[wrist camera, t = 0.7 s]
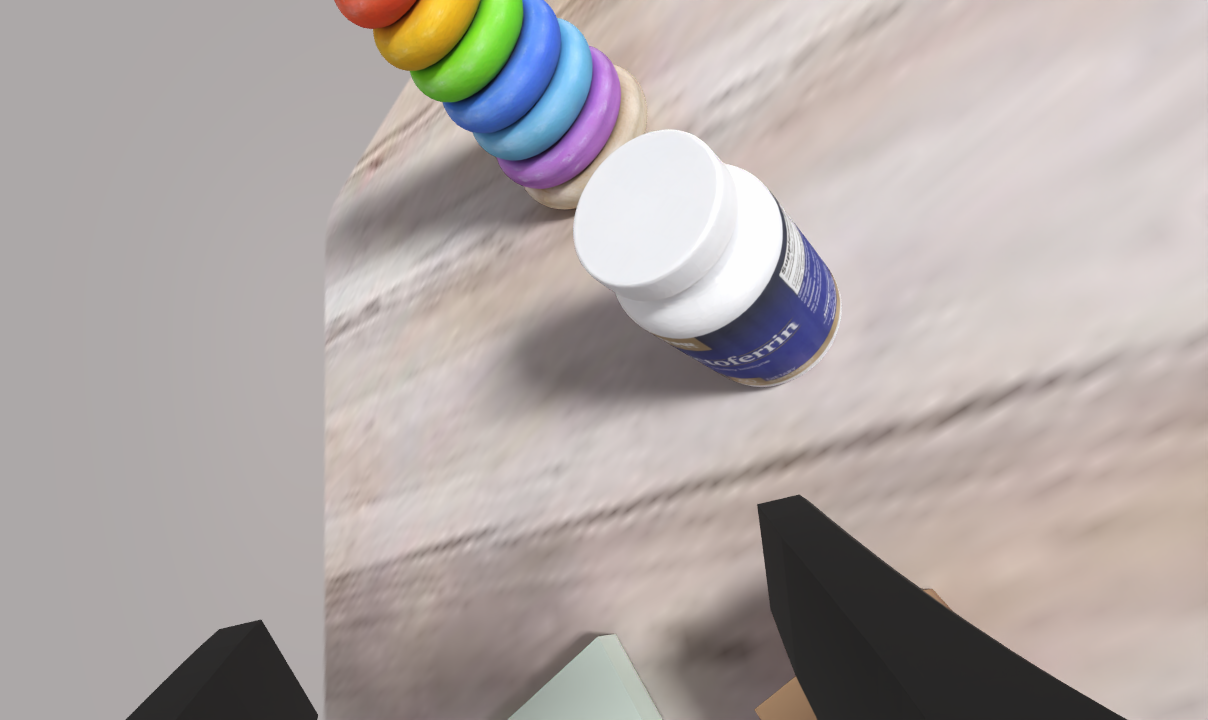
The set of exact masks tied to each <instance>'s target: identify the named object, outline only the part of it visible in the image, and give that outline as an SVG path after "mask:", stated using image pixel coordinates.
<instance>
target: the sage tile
mask: <svg viewBox="0 0 1208 720" xmlns="http://www.w3.org/2000/svg"><path fill="white" fill-rule="evenodd" d="M507 720H663V719H662V718H661V716H660V714H659V712H658V710H657V709H656V707H655V705H654V703H653V701H652V700H651V698H650V696H649V694H648V692H647V690H646V689H645V687H644V685H643V683H642V681H641V680H640V678H639V676H638V674H637V672H636V670H635V669H634V667H633V665H632V663H631V661H630V660H629V658H628V656H627V654H626V652H625V651H624V649H623V647H622V645H621V643H620V641H619V640H618V638H617V636H616V634H612V635H604V636H598V637H597V638H596V639H595V640H593V641H592V642H591V643H590V644H589V645H588V646H587V647H586V648H585V649H584V650H583V651H581V652H580V653H579V654H578V655H577V656H576V657H575V658H574V659H573V660H572V661H571V662H570V663H568V664H567V665H566V666H565V667H564V668H563V669H562V670H561V671H560V672H559V673H558V674H556V675H555V676H554V677H553V678H552V679H551V680H550V681H549V682H548V683H547V684H546V685H544V686H543V687H542V688H541V689H540V690H539V691H538V692H537V693H536V694H535V695H534V696H533V697H531V698H530V699H529V700H528V701H527V702H526V703H525V704H524V705H523V706H522V707H521V708H519V709H518V710H517V711H516V712H515V713H514V714H513V715H512V716H511V717H510V718H509V719H507Z"/></svg>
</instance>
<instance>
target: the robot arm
mask: <svg viewBox="0 0 1208 720" xmlns="http://www.w3.org/2000/svg"><path fill="white" fill-rule="evenodd" d="M757 506H758V514H759V522H760V530H761V537H762V545H763V553H764V561H765V569H766V576H767V584H768V592H769V600H770V608H771V611H772V614H773V617H774V619H775V622H776V625H777V628H778V630H779V633H780V636H781V638H782V641H783V644H784V646H785V649H786V651H787V654H788V657H789V659H790V662H791V664H792V667H793V670H794V672H795V675H796V677H797V680H798V682H799V684H800V686H801V688H802V690H803V692H804V694H805V696H806V698H807V700H808V702H809V704H810V706H811V708H812V710H813V712H814V714H815V716H816V718H817V720H1127V719H1125V718H1123V717H1122V716H1120V715H1118V714H1116V713H1114V712H1113V711H1111V710H1109V709H1107V708H1106V707H1104V706H1102V705H1101V704H1099V703H1097V702H1095V701H1094V700H1092V699H1090V698H1089V697H1087V696H1085V695H1083V694H1082V693H1080V692H1078V691H1077V690H1075V689H1073V688H1071V687H1070V686H1068V685H1066V684H1065V683H1063V682H1061V681H1060V680H1058V679H1056V678H1055V677H1053V676H1051V675H1050V674H1048V673H1046V672H1045V671H1043V670H1042V669H1040V668H1038V667H1037V666H1035V665H1033V664H1032V663H1030V662H1029V661H1027V660H1026V659H1024V658H1022V657H1021V656H1019V655H1018V654H1016V653H1014V652H1013V651H1011V650H1010V649H1008V648H1007V647H1005V646H1004V645H1002V644H1001V643H999V642H998V641H996V640H995V639H993V638H992V637H990V636H989V635H987V634H985V633H984V632H982V631H981V630H979V629H978V628H976V627H975V626H973V625H972V624H970V623H969V622H967V621H966V620H964V619H963V618H962V617H960V616H959V615H957V614H956V613H954V612H953V611H951V610H950V609H949V608H947V607H946V606H944V605H943V604H941V603H940V602H938V601H937V600H936V599H934V598H933V597H932V596H930V595H929V594H927V593H926V592H925V591H923V590H922V589H921V588H919V587H918V586H917V585H915V584H914V583H912V582H911V581H910V580H908V579H907V578H906V577H904V576H903V575H901V574H900V573H899V572H897V571H896V570H895V569H893V568H892V567H891V566H889V565H888V564H887V563H885V562H884V561H883V560H881V559H880V558H879V557H877V556H876V555H875V554H874V553H872V552H871V551H870V550H868V549H867V548H866V547H865V546H863V545H862V544H861V543H860V542H858V541H857V540H856V539H855V538H853V537H852V536H851V535H849V534H848V533H847V532H846V531H845V530H843V529H842V528H841V527H840V526H838V525H837V524H836V523H835V522H833V521H832V520H831V519H830V518H829V517H827V516H826V515H825V514H824V513H823V512H821V511H820V510H819V509H818V508H816V507H815V506H814V505H813V504H812V503H810V502H809V501H808V500H807V499H805V498H804V497H802V496H800V495H796V496H791V497H787V498H783V499H779V500H774V501H770V502H766V503H761V504H757ZM317 718H318V714H317V712H316V711H315V709H314V707H313V706H312V704H311V702H310V701H309V699H308V697H307V695H306V694H305V692H304V690H303V689H302V687H301V686H300V684H299V682H298V680H297V679H296V677H295V676H294V674H293V672H292V670H291V669H290V667H289V665H288V664H287V662H286V660H285V659H284V657H283V655H282V654H281V652H280V651H279V649H278V647H277V645H276V644H275V642H274V640H273V638H272V637H271V635H270V633H269V632H268V630H267V628H266V627H265V625H264V624H263V622H262V620H258V621H253V622H249V623H244V624H240V625H236V626H231V627H227V628H223V629H219V630H218V631H217V632H216V633H215V634H214V635H212V636H211V637H210V638H209V639H208V640H207V641H206V642H205V643H203V644H202V645H201V646H200V647H199V648H198V649H197V650H196V651H195V652H194V653H193V654H192V655H191V656H190V657H189V658H187V659H186V660H185V661H184V662H183V663H182V664H181V665H180V666H179V667H178V668H177V669H176V670H175V671H174V672H173V673H172V674H171V675H170V676H169V677H168V678H167V679H166V680H165V681H164V682H163V683H162V684H161V685H160V686H159V687H158V688H157V689H156V690H155V691H154V692H153V693H152V694H151V695H150V696H149V697H148V698H147V699H146V700H145V701H144V702H143V703H142V704H141V705H140V706H139V707H138V708H137V709H136V710H135V711H134V712H133V713H132V714H131V715H130V716H129V717H128V718H127V719H126V720H317Z"/></svg>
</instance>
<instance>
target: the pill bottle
mask: <svg viewBox="0 0 1208 720" xmlns="http://www.w3.org/2000/svg"><path fill="white" fill-rule="evenodd" d="M573 238H574V245H575V249H576V253H577V256H578V258H579V260H580V262H581V264H582V265H583V267H584V268H585V269H586V271H587V272H588V273H589V274H590V275H591V276H592V277H593V278H595V279H596V280H597V281H599V282H600V283H602V284H603V285H604V286H606V287H607V288H609V289H610V290H612V291H614V292H615V294H616V297H617V299H618V301H619V303H620V304H621V306H622V308H623V309H624V311H625V312H626V313H627V314H628V316H629V317H630V318H631V319H632V320H633V321H634V322H636V323H637V324H638V325H640V326H641V327H642V328H644V329H645V330H646V331H648V332H650V333H651V334H653V335H655V336H656V337H658V338H660V339H662V340H663V341H665V342H667V343H668V344H670V345H672V346H673V347H675V348H677V349H679V350H680V351H682V352H684V353H685V354H687V355H689V356H690V357H692V358H694V359H696V360H697V361H699V362H701V363H702V364H704V365H706V366H707V367H709V368H711V369H713V370H714V371H716V372H718V373H720V374H721V375H723V376H725V377H727V378H729V379H731V380H733V381H735V382H738V383H741V384H744V385H749V386H755V387H769V386H776V385H780V384H783V383H786V382H789V381H791V380H794V379H796V378H798V377H800V376H801V375H803V374H805V373H806V372H808V371H809V370H810V369H812V368H813V367H814V366H815V365H816V364H817V363H818V362H819V361H820V360H821V359H822V358H823V357H824V356H825V355H826V353H827V352H828V350H829V349H830V347H831V345H832V343H833V341H834V339H835V337H836V335H837V332H838V329H839V325H840V320H841V312H842V305H841V296H840V292H839V289H838V286H837V283H836V281H835V279H834V277H833V275H832V273H831V272H830V270H829V269H828V267H827V266H826V264H825V263H824V261H823V260H822V259H821V258H820V256H819V255H818V254H817V252H816V251H815V250H814V248H813V247H812V246H811V244H810V243H809V242H808V241H807V239H806V238H805V237H804V235H803V234H802V233H801V231H800V230H799V229H798V227H797V226H796V225H795V223H794V222H793V221H792V219H791V218H790V217H789V215H788V214H787V213H786V211H785V210H784V209H783V207H782V206H781V205H780V204H779V202H778V201H777V199H776V198H775V197H774V195H773V194H772V193H771V192H770V191H769V190H768V188H767V187H766V186H765V185H764V184H763V183H762V182H761V181H760V180H759V179H757V178H756V177H755V176H754V175H752V174H751V173H749V172H747V171H745V170H743V169H741V168H739V167H736V166H732V165H729V164H724V163H723V162H722V161H721V160H720V159H719V158H718V157H717V156H716V154H715V153H714V152H713V151H712V150H711V149H710V148H709V147H708V146H707V145H706V144H705V143H704V142H703V141H702V140H700V139H699V138H697V137H696V136H694V135H692V134H690V133H687V132H683V131H679V130H658V131H653V132H649V133H646V134H643V135H640V136H638V137H636V138H634V139H632V140H630V141H628V142H627V143H625V144H624V145H622V146H621V147H619V148H618V149H616V150H615V151H614V152H613V153H611V154H610V155H609V156H608V157H607V158H606V159H605V160H604V161H603V162H602V163H601V165H600V166H599V167H598V168H597V170H596V171H595V172H594V173H593V175H592V176H591V178H590V179H589V181H588V183H587V185H586V186H585V188H584V190H583V192H582V194H581V197H580V199H579V202H578V205H577V209H576V212H575V218H574V225H573Z"/></svg>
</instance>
